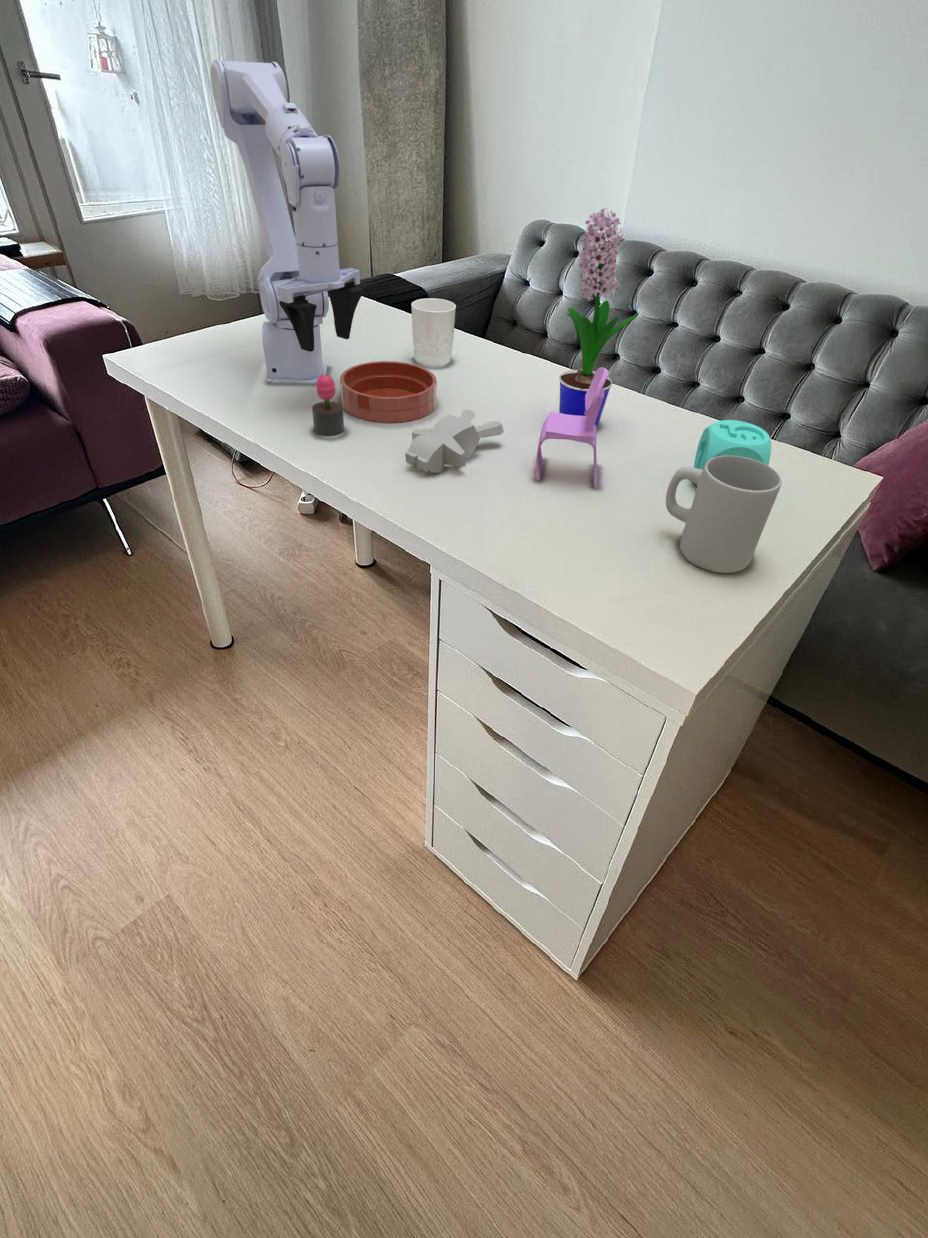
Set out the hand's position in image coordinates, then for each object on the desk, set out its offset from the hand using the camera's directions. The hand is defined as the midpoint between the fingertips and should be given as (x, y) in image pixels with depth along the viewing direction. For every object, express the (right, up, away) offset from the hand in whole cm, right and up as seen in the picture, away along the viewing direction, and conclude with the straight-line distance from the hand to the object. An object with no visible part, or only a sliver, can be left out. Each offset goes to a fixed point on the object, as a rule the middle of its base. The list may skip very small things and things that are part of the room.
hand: (325, 343), depth 102 cm
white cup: (+15, +6, +23) cm, 28 cm away
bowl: (+9, -7, +7) cm, 14 cm away
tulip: (+1, -14, -1) cm, 14 cm away
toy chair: (+35, -21, -6) cm, 42 cm away
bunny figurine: (+19, -18, -4) cm, 27 cm away
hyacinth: (+40, -11, +6) cm, 42 cm away
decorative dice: (+58, -23, -7) cm, 62 cm away
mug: (+50, -33, -19) cm, 63 cm away
